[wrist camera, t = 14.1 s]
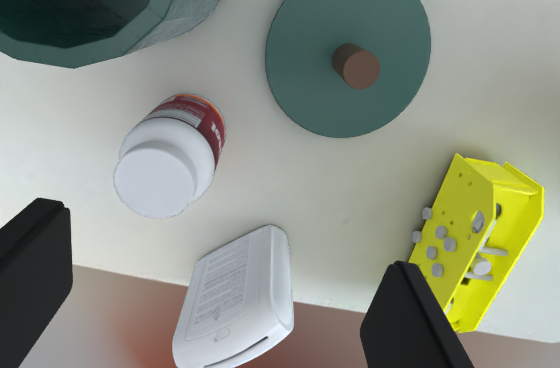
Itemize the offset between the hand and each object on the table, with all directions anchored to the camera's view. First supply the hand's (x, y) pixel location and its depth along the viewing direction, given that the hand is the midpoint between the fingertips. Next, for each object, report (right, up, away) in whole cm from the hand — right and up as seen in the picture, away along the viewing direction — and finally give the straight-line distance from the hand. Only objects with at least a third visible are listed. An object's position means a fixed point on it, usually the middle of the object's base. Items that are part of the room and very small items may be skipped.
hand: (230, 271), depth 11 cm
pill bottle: (-6, +8, +20) cm, 23 cm away
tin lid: (+7, +12, +17) cm, 22 cm away
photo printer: (-2, -4, +27) cm, 27 cm away
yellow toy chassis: (+18, -2, +26) cm, 31 cm away
